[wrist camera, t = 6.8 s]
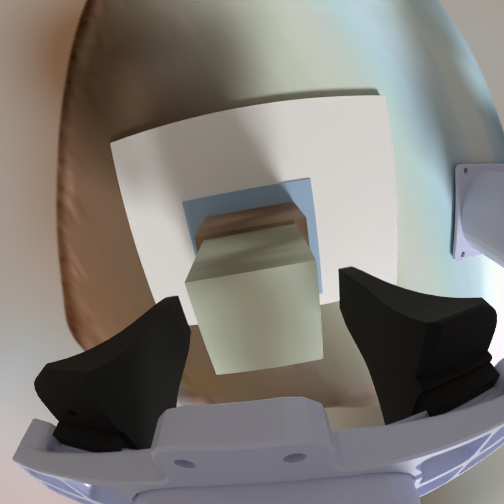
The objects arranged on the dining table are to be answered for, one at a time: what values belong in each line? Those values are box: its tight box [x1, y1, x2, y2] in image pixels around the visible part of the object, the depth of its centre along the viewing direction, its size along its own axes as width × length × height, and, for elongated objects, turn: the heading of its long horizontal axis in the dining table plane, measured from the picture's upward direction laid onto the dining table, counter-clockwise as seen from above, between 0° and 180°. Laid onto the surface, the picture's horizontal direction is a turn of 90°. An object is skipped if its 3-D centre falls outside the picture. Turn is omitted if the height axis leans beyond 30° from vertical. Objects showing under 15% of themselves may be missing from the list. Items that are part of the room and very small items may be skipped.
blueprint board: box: [110, 95, 398, 325], centre depth 18 cm, size 18×14×1 cm
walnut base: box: [194, 202, 310, 251], centre depth 16 cm, size 6×6×4 cm
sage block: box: [184, 224, 323, 375], centre depth 12 cm, size 4×4×4 cm
